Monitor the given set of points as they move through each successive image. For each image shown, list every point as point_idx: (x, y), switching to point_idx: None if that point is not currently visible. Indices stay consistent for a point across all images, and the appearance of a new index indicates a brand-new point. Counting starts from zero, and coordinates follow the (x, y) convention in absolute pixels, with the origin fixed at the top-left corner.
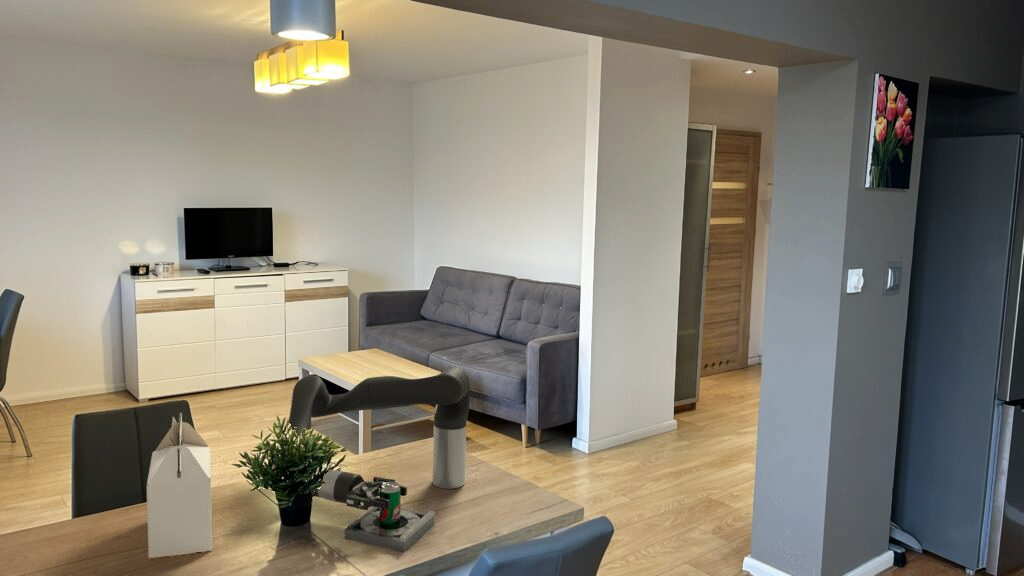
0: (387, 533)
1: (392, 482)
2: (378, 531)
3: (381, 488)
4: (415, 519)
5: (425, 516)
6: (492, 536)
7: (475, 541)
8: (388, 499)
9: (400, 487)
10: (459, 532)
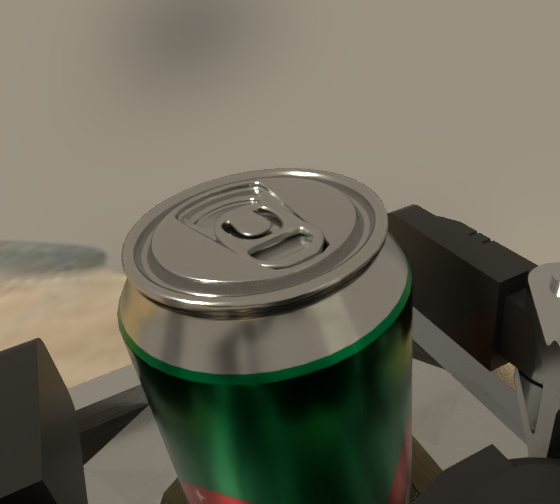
0: (429, 387)
1: (143, 280)
2: (481, 443)
3: (387, 261)
4: (131, 456)
5: (93, 392)
6: (21, 282)
7: (95, 280)
8: (392, 214)
9: (39, 381)
10: (51, 352)
